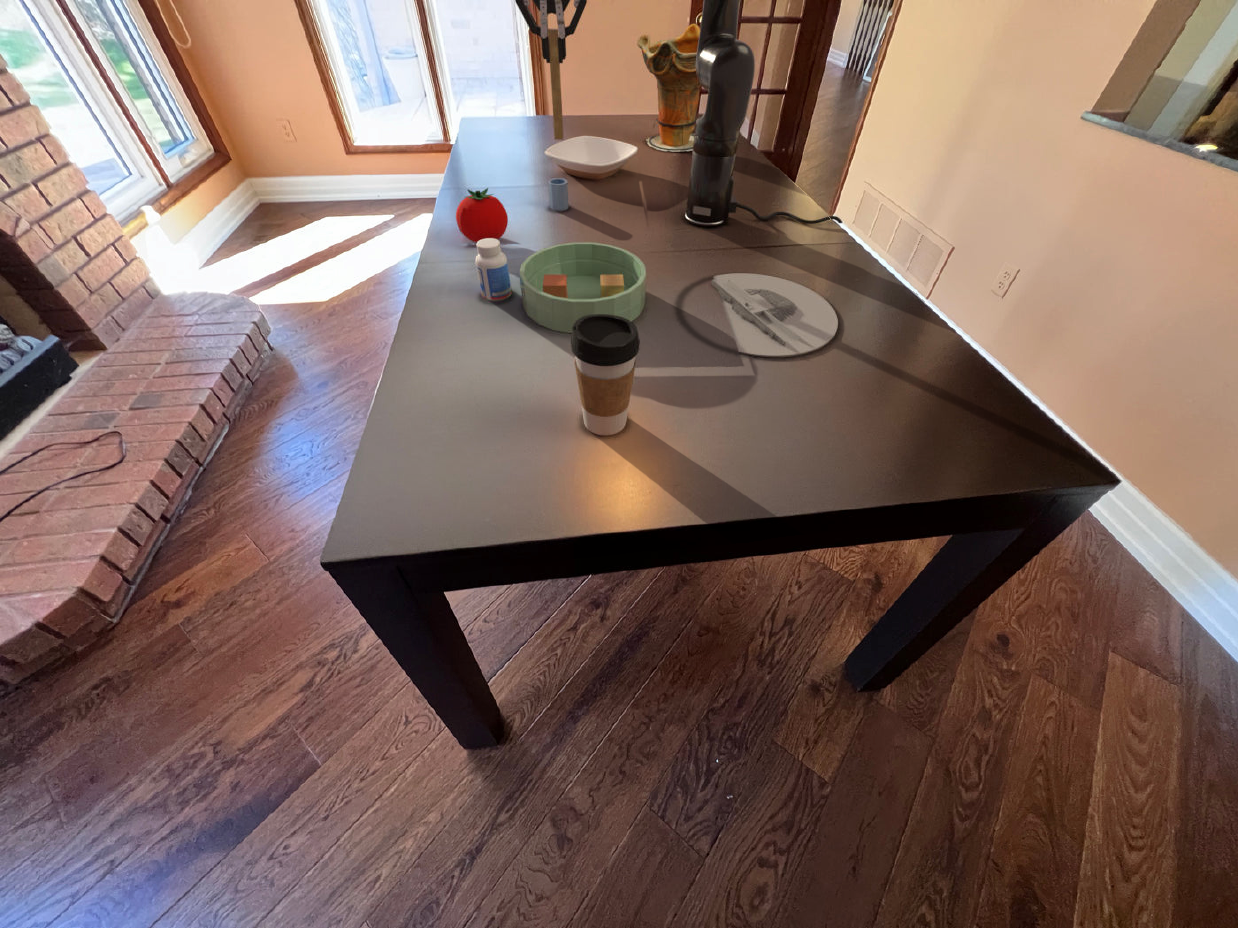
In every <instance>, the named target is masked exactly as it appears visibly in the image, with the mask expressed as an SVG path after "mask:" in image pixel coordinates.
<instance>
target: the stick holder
mask: <svg viewBox="0 0 1238 928" xmlns="http://www.w3.org/2000/svg"><path fill="white" fill-rule="evenodd" d="M547 186H548V203H549V208H550V209H551V210H553V211H557V212H558V211H559V212H560V211H566V210H568V209H569V208H570V207H569V206H570V204H569V184H568V180H567V179H565V178H562V177H555V178H553V177H552V178H550V179H548V180H547Z"/></svg>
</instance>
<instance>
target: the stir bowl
mask: <svg viewBox="0 0 1238 928" xmlns="http://www.w3.org/2000/svg"><path fill="white" fill-rule="evenodd" d="M518 274H519V275H518V276H519V284H520V293H521V300H522V306H523V308H524V310H525V313H526V315H527V316H528V317H529V318H531V320H533V322H535V323H536V324H538V325H540V326H542V327H544V328H547V329H549V330H552V331H555V332H561V333H567V334H572V327H573V325H574V323H575V322H576V321H577V320H578V319H579V318H581V317H583V316H586V315H593V314H607V315H615V316H619V317H623V318H625V319H627V320H629V321H631V322H632V323H633V321H635V320H636V319H637V318H638V317H640V315H641V313H642V311H643V310H644V307H645V305H646V303H645V302H646V289H647V270H646V265H645V263H644V262H643V261H642V259H640V257H639V256H637V255H636V254H634V253H632V252H631V251H629V250H628V249H624V248H621V247H619V246H614V245H611V244H606V243H600V242H591V241H589V242H587V241H586V242H583V241H582V242H581V241H579V242H578V241H577V242H575V241H574V242H567V243H559V244H555V245H551V246H548V247H545V248H542V249H539V250H538V251H536V252H534V253H532V254H530V255H529V256H527V258H526V259H525V260H523V262H522V263H521V265H520V269H519V273H518ZM544 275H567V292H568V298H562V297H556V296H552V295H550V294H547V293H544V292H543V279H544ZM600 275H623V280H624V292H621V293H618V294H616V295H613V296H610V297H604V298H601V277H600Z"/></svg>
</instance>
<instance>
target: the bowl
mask: <svg viewBox="0 0 1238 928" xmlns="http://www.w3.org/2000/svg"><path fill="white" fill-rule="evenodd" d="M638 150H639V148H638V146H635V145H633V144H631V143H627V142H624V141H620V140H616V139H611V138H605V137H600V136H599V137H598V136H592V135H581V136H576V137H571V138H568V139H565V140H561V141H559V142H557V143H555V144H553V145H551V146H549V147H548V148H547V149H545V151H544V154H545V156H547V157H548V158H549V159H550V160H551V161H552V162H553V163H555V164H556V165H557V166H558V167H559V168H560V169H561V170H562V171H563V172H564V173H566V174H569V175H571V176H574V177H577V178H581V179H582V178H583V179H588V180H596V181H597V180H602V179H607V178H609V177H611V176H613V175H615V174H616V173H617V172H619V170H620V169H621V168H622V167H623V166H624V165H626V163H628V162H629V161H630V160H631V159H632V158H633V157H634V156H635V155H636V154H637V152H638Z"/></svg>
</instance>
